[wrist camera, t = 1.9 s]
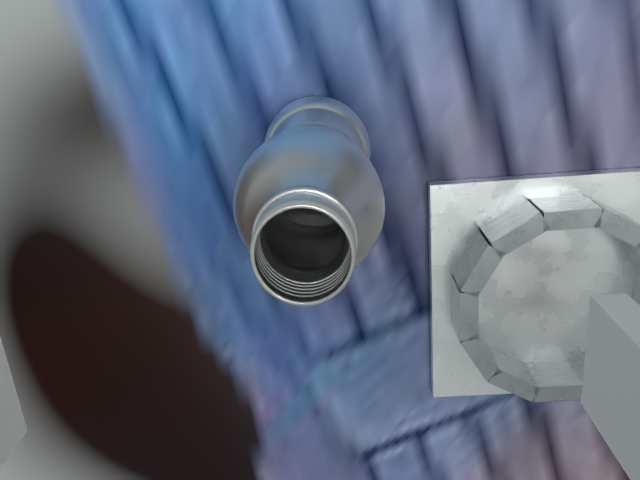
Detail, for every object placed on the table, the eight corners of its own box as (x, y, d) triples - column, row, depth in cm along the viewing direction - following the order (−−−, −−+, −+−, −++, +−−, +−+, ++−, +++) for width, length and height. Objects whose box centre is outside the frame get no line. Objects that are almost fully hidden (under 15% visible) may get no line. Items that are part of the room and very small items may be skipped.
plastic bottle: (278, 200, 40) (228, 357, 21) (259, 98, 38) (185, 173, 19) (374, 186, 40) (410, 334, 21) (360, 82, 37) (387, 142, 19)
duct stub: (650, 378, 44) (679, 411, 40) (431, 389, 45) (440, 423, 41) (677, 164, 39) (714, 179, 35) (428, 181, 39) (437, 198, 36)
